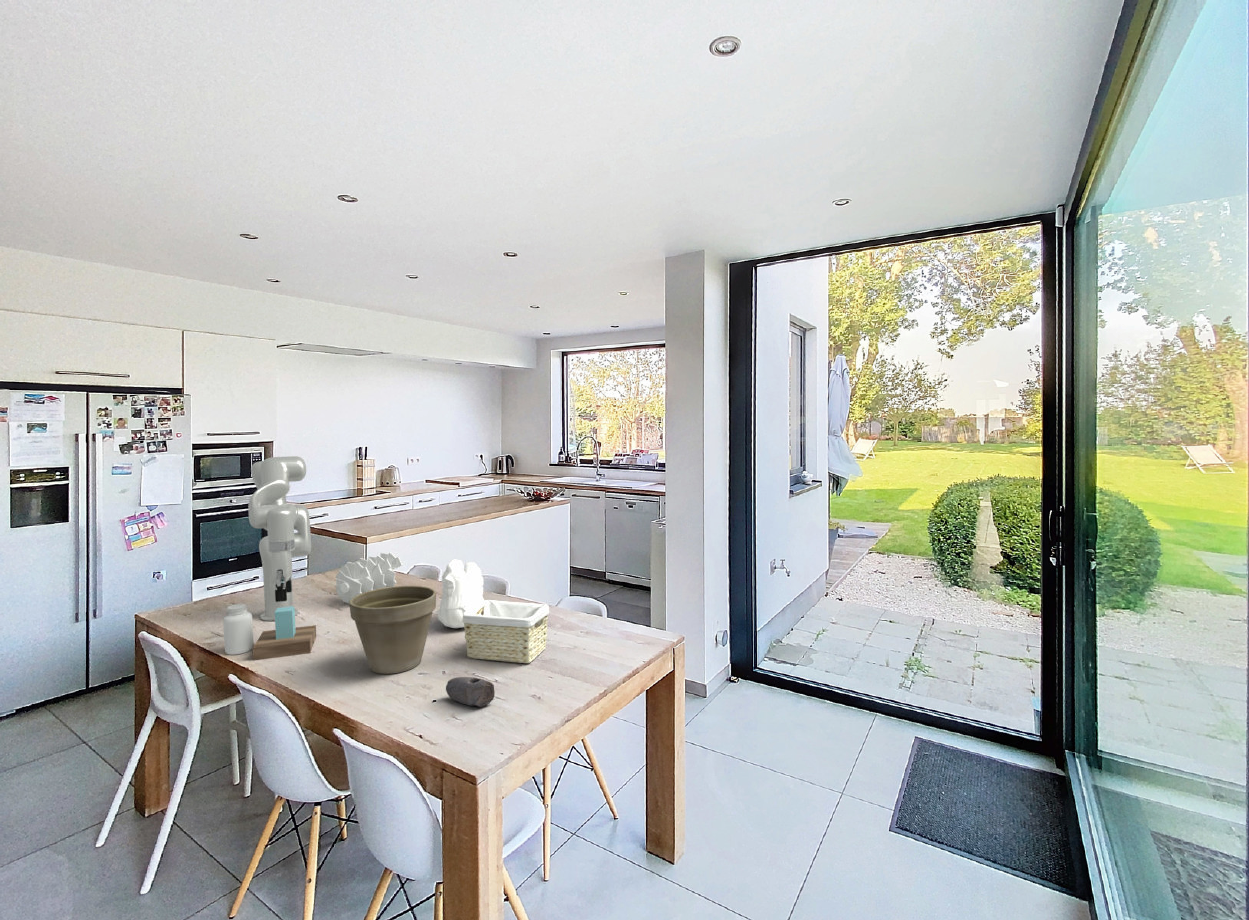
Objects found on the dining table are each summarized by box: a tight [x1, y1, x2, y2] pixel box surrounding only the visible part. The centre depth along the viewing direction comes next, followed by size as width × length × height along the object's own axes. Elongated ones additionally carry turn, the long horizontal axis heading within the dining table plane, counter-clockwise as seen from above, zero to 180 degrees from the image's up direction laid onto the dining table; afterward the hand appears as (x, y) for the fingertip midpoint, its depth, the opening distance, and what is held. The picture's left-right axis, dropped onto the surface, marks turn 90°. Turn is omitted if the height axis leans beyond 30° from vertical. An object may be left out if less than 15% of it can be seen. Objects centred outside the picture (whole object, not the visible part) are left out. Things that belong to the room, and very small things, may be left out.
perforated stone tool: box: [445, 676, 496, 708], centre depth 159 cm, size 15×5×7 cm, turn 62°
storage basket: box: [462, 599, 550, 664], centre depth 193 cm, size 24×16×15 cm
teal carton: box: [274, 605, 296, 639], centre depth 198 cm, size 5×5×9 cm
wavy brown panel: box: [252, 625, 317, 661], centre depth 199 cm, size 16×16×4 cm
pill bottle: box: [222, 603, 254, 656], centre depth 196 cm, size 8×8×15 cm
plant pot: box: [348, 585, 437, 675], centre depth 184 cm, size 25×25×22 cm
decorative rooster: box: [437, 559, 485, 629], centre depth 222 cm, size 25×16×25 cm, turn 154°
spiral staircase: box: [334, 551, 403, 605], centre depth 253 cm, size 18×18×25 cm
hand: (283, 596), depth 198 cm, fingers open, 9 cm apart
